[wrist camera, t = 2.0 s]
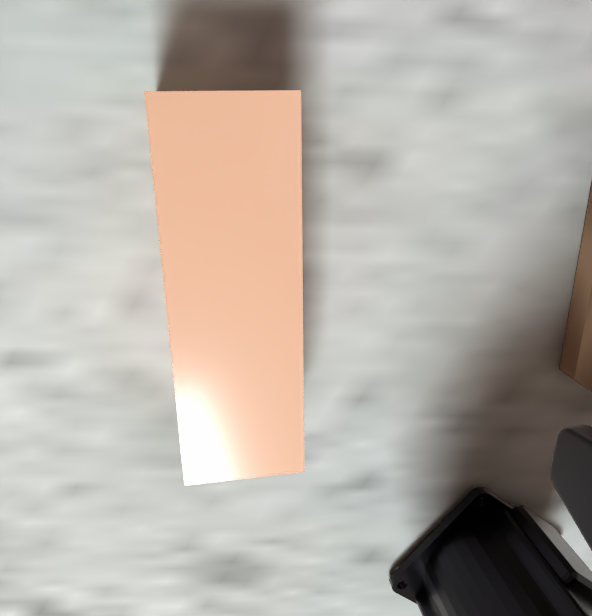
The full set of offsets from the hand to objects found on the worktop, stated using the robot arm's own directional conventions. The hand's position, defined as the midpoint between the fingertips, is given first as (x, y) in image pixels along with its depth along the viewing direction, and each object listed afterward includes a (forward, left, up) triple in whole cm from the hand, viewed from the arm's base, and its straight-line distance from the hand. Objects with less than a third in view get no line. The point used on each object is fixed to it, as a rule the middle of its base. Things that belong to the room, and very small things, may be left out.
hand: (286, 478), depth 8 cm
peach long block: (0, 0, -12) cm, 12 cm away
